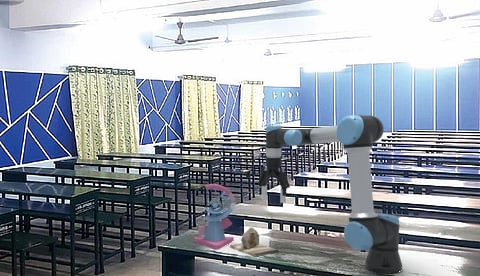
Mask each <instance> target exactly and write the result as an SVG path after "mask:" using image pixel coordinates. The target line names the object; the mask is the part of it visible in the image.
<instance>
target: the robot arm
mask: <svg viewBox="0 0 480 276" xmlns="http://www.w3.org/2000/svg"><path fill="white" fill-rule="evenodd" d="M265 128H266V129H265V156H266V158H265V165H264V166H262V169H261V173H260V176H259V179H258V182H257V183H258V185H260V187H261V188H260V189H261V190H260V191H261V200H267V199H268V186H267V185H268V184H267V183H268V182H269V180H270V179H271V177H274V178H276V180H277V182H278V184H279V186H280V190H279V191H280V201H279V202H280V204H283V203H284V204H285V203H286V202H287V197H286V196H287V190H288V189H289V188H291V185H290V183H289V180H288V177H287V173H286V168H285V167H281V166H282V158H281V157H282V146H291V147H296V146H303V145H304V146H305V145H306V146H312V145H316V144H326V143H329V144H330V143H341V144H342V149H343V151H345V152H346V153H347V164H348V176H349V178H348V179H349V189H350V202H351V212H350V214H349V215H348V223H347V224H346V225H345V226H344V230H343V234H344V235H343V236H344V240H345V241H346V243H347V245H349V246H350V248H352V249H354V250H355V251H368V253H367V256H366V260H365V262H364V264H365V265H364V268H365V269H366V270H368V271H371V272H373V273H379V274H386V273H393V274H397V273H396V272H399V271H401V270H402V271H403V263H402V259H401V256H400V252H399V243H400V242H399V240H400V239H399V238H400V226H401V225H400V219H399V217H398V216H397V215H393V214H388V213H380V212H375V210H374V198H373V196H374V195H373V183H372V171H371V161H370V159H371V158H370V157H371V156H370V151H371V150H372V149H373V144H374V143H377V142H378V141H379V140H380V139H381V138H382V137H383V135H384V133H385V131H384V130H385V128H384V124H383V122H382V121H381V119H379V118H378V117H377V116H374V115H364V114H363V115H361V114H355V115H354V114H352V115H351V114H350V115H346V116H344V117H343V118H342V119H341V120H340V121H339V122H338V123H337V125H329V126H323V127H314V128H304V129H303V128H301V129H298V128H296V129H294V128H293V129H292V128H290V129H282V125H281V124H277V125H276V124H270V125H267V126H266V127H265ZM402 271H401V272H402ZM399 273H400V272H399Z"/></svg>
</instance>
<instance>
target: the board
mask: <svg viewBox="0 0 480 276" xmlns="http://www.w3.org/2000/svg"><path fill="white" fill-rule="evenodd" d="M229 248H230V249H233V250H237V251H239V252H242V253H244V254H247V255H249V256H252V257H255V258H256V257H261V256H266V255H271V254H278V253H279V250H278V249H276V248H273V247H270V246H267V245H263V244H261V243H259V244H258V245H254V246H253V247H251V248H249V249H246V247H243V244H242V242H240V243H235V244H231V245H229Z"/></svg>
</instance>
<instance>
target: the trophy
mask: <svg viewBox="0 0 480 276" xmlns="http://www.w3.org/2000/svg"><path fill="white" fill-rule="evenodd" d="M204 187H205V190H206V193H207V194H208V195H210V192H209V190H214V195H217V190H219V191H221V194H220V195H219V197H220V198H221V199H223V200H224V201H225V206H222V204H223V203H222V201H221V200H219V199H218V198H217V199H216V198H213V199H212V200H210V201H209V203H208V205H212V207H211V206H209V207H206V206H205V207H204V210H205V211H206V212H207V213H209V215H208V214H205V218H204V219H205V220H204V221H207V222H208V224H207V225H198V231H197V237H196V236H195V237H194V238H193V242H194V243H195V242H196V244H199V245H201V246H204V247H206V248H210V249H212V250H215V251H216V250H218V251H219V250H220V249H222V248H224V247H226V246H228V245H229V244H231V243H233V242H234V240H235V237H234V236H226V235H225V232H224V230H227V229H228V228H229V227H230V226H232V225H233V222H232V221H231V220H230V219H229V218H228V216H230V215H231V213H232V212H233V211H234V208H235V207H236V204H237V203H236V197H235V196H234V194H233V193H232V192H231V191H230V189H228V187H227V188H226V187H225V186H223V185H220V184H215V183H211V184H210V183H209V184H204ZM225 194H226V195H227V196H228V197H225ZM229 200H230V202H231V204H229V206H228V201H229ZM217 202H218V204H219V205H218V204H217ZM218 207H219V208H218ZM226 207H228V208H226ZM210 214H211V215H210ZM198 236H199V237H198ZM200 236H202V237H200ZM232 241H233V242H232ZM227 244H228V245H227ZM225 245H226V246H225Z"/></svg>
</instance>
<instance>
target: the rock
mask: <svg viewBox="0 0 480 276" xmlns="http://www.w3.org/2000/svg"><path fill="white" fill-rule="evenodd" d="M240 241H241V243H242V244H243V247H246V249H249V248H251V247H253V246H254V245H258V244H260V234H259V233H258V231H257V229H255V228H254V227H249V228H248V230H246V232H244V233H243V234H242V236H241V239H240Z"/></svg>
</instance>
